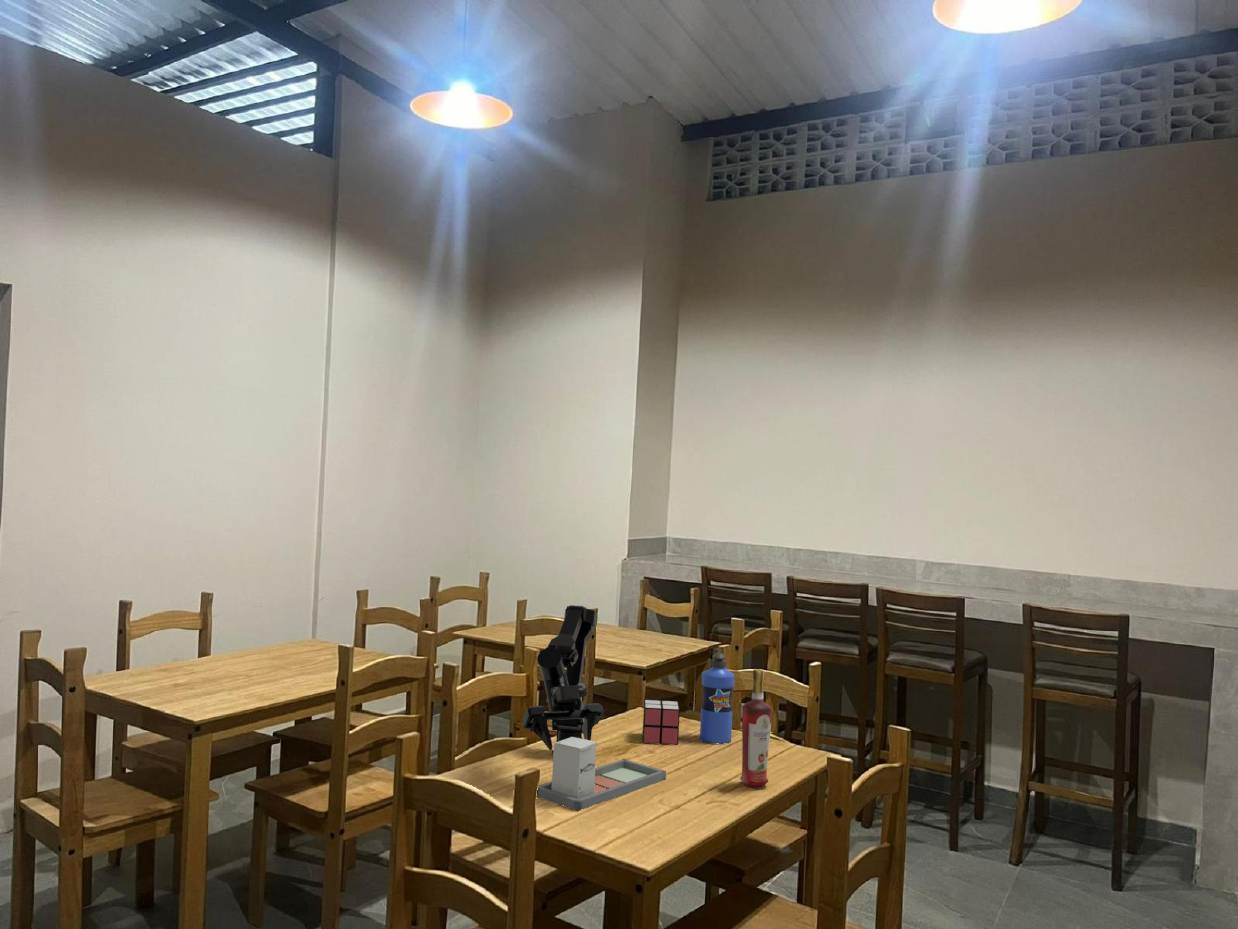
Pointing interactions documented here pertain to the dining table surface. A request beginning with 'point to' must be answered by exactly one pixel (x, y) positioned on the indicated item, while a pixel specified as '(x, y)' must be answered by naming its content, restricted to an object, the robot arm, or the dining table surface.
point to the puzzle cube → (661, 722)
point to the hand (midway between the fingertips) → (570, 748)
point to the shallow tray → (608, 784)
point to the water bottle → (717, 702)
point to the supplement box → (574, 767)
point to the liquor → (755, 735)
